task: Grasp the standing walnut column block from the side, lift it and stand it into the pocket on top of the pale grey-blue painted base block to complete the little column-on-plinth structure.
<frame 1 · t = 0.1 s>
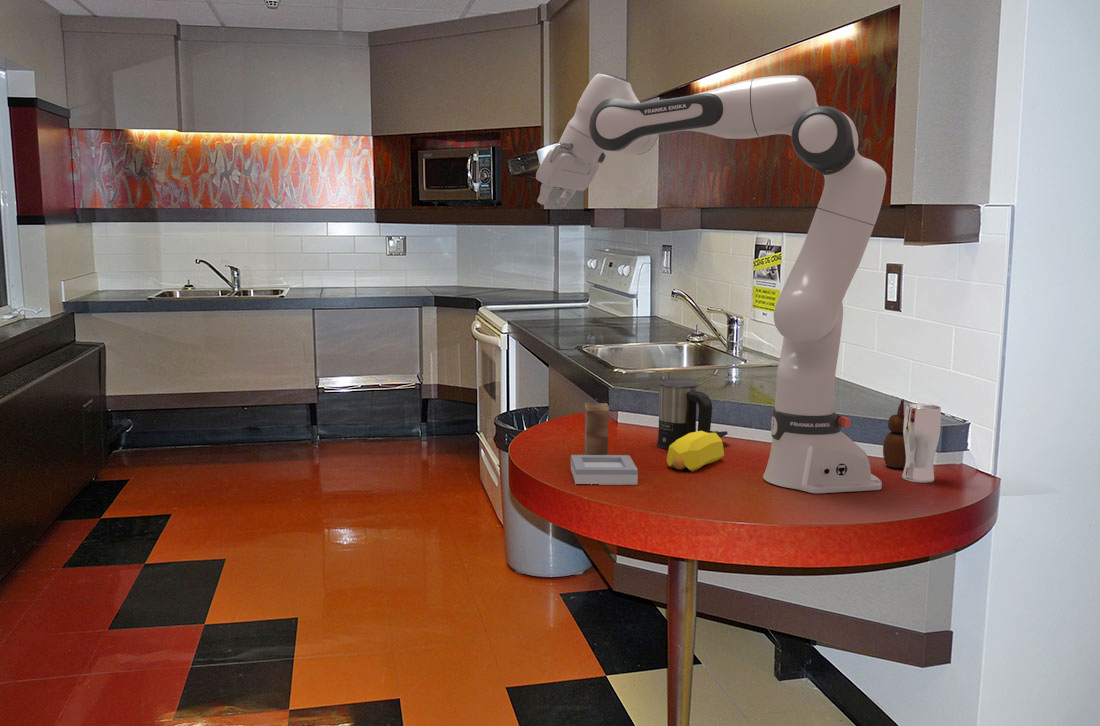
hand: (550, 204, 199), 54 cm above the table, tool tilted 30°, fingers open, 8 cm apart
hot dog: (695, 465, 195), on the table
plinth base: (603, 476, 183), on the table
milk frother: (691, 446, 213), on the table
wooden figurine: (896, 467, 196), on the table
beer glass: (917, 480, 186), on the table
column block: (595, 460, 197), on the table
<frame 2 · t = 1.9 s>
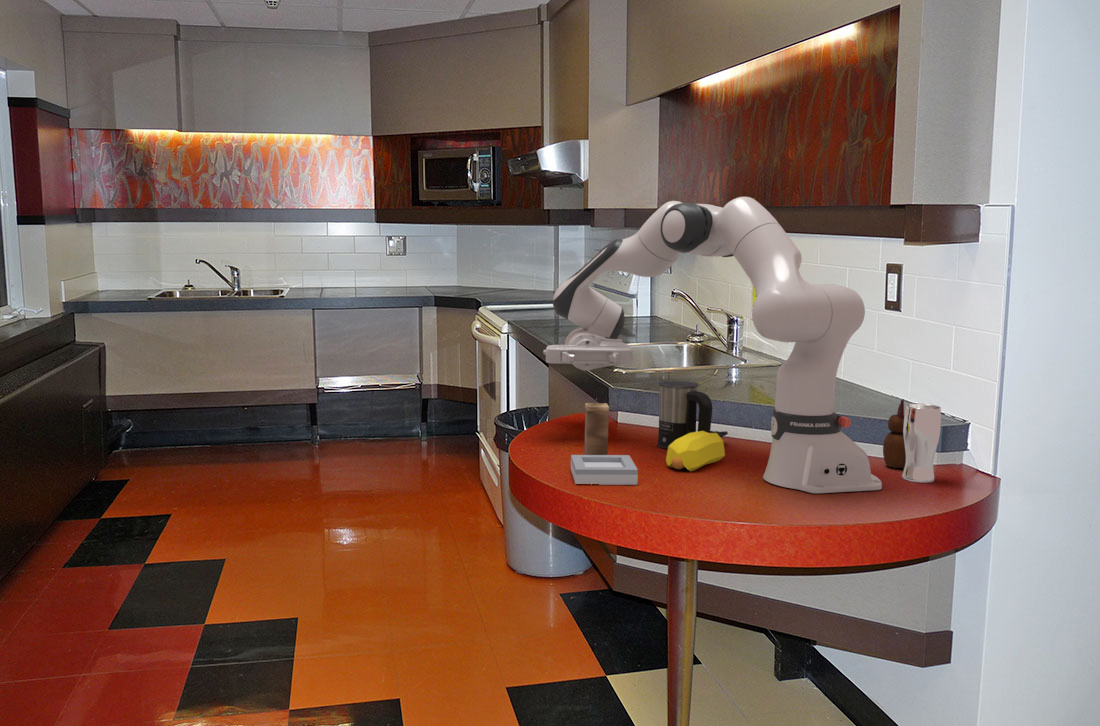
hand: (591, 359, 206), 20 cm above the table, tool horizontal, fingers open, 8 cm apart
nothing on the table moved.
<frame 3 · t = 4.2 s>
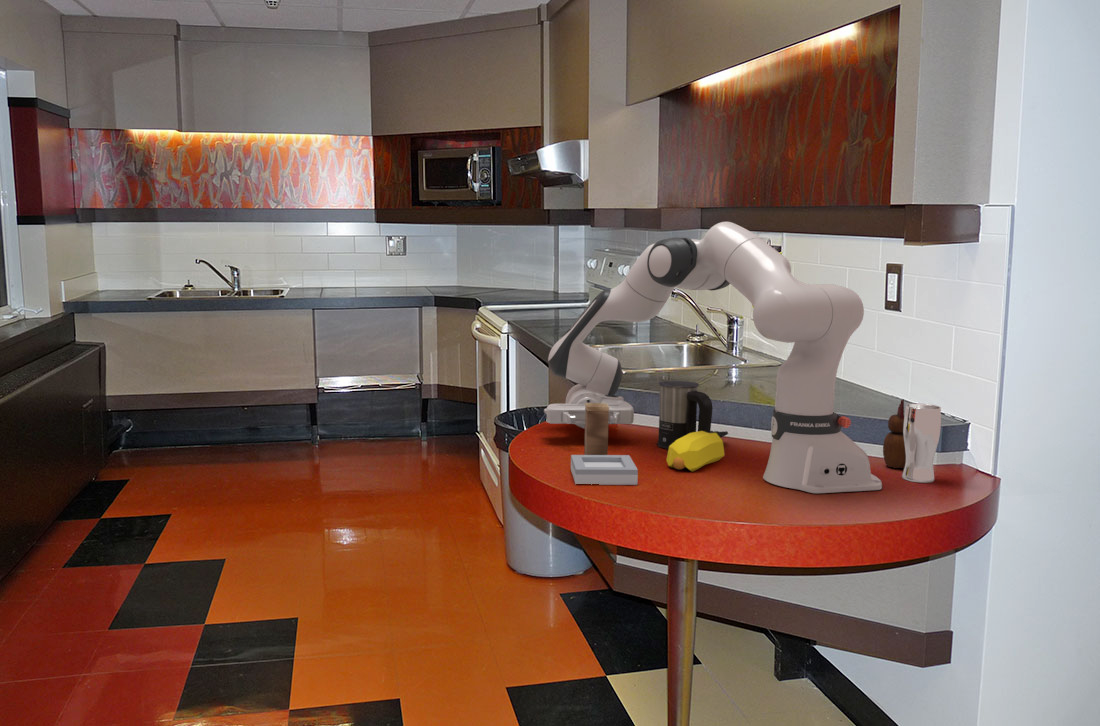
hand: (592, 420, 206), 7 cm above the table, tool horizontal, fingers open, 8 cm apart
nothing on the table moved.
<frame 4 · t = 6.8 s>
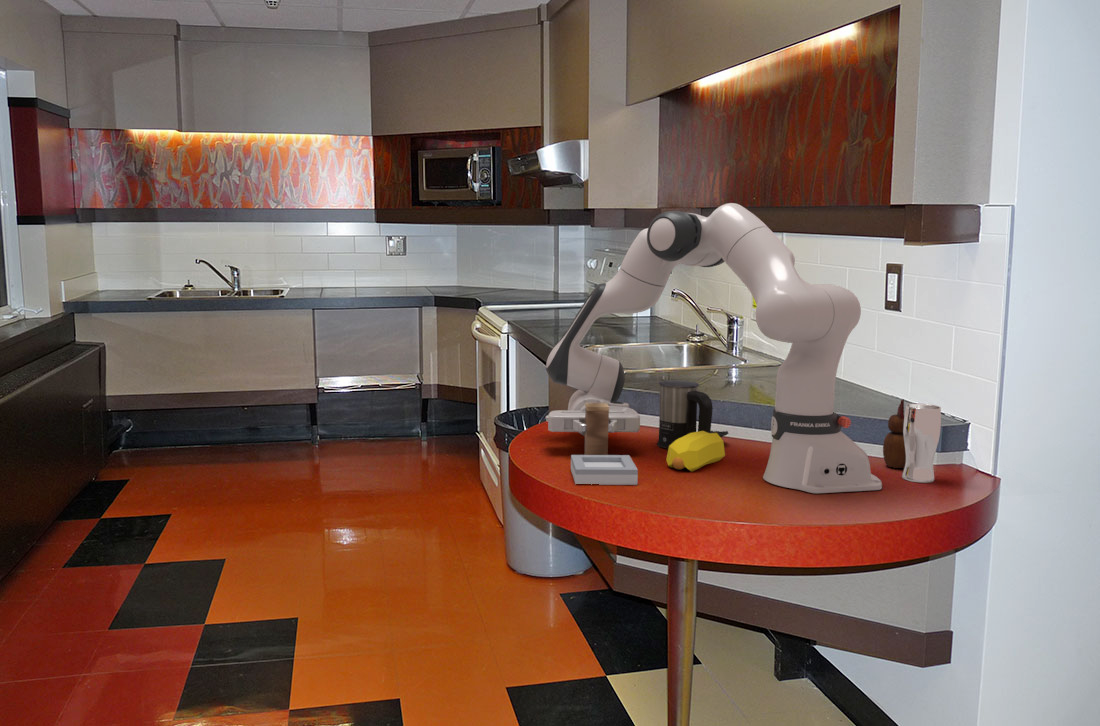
hand: (597, 428, 195), 7 cm above the table, tool horizontal, fingers closed on column block, 4 cm apart
column block: (595, 460, 197), on the table, touching gripper
everything else where it was.
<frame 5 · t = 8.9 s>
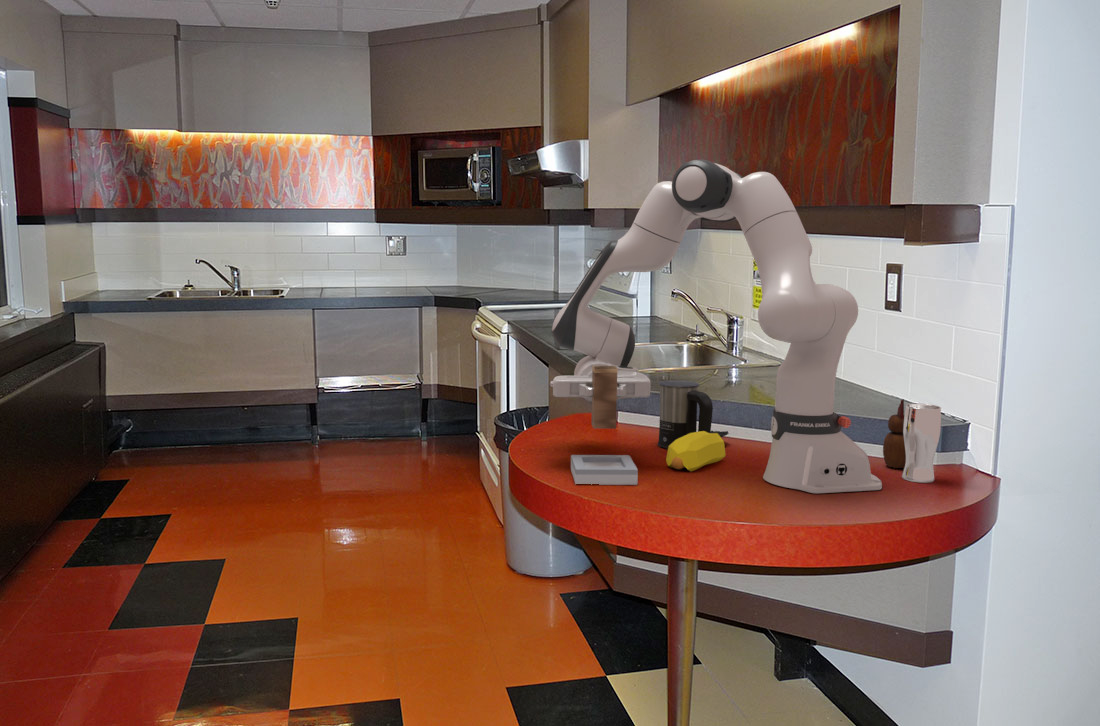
hand: (604, 392, 183), 17 cm above the table, tool horizontal, fingers closed on column block, 4 cm apart
column block: (603, 426, 185), point 10 cm above the table, touching gripper
everything else where it was.
when the fingers open (10 cm above the table, at t = 11.3 s): column block stays where it is, resting on plinth base.
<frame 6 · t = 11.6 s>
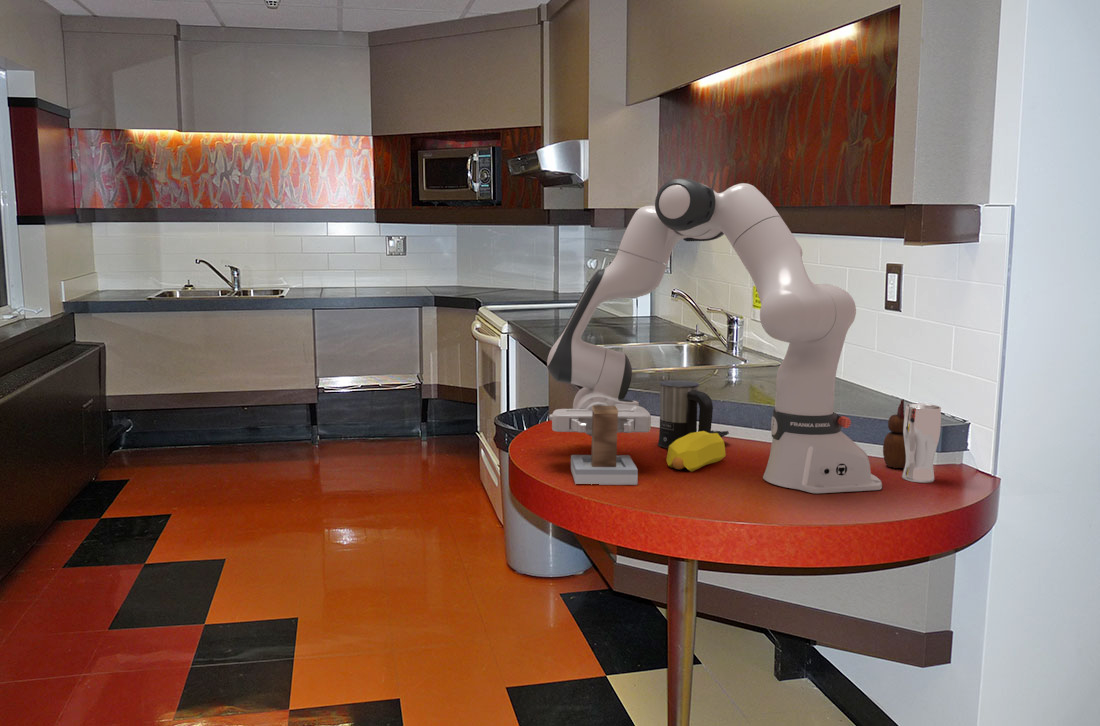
hand: (604, 428, 181), 10 cm above the table, tool horizontal, fingers open, 8 cm apart
column block: (603, 466, 183), point 2 cm above the table, touching plinth base
everything else where it was.
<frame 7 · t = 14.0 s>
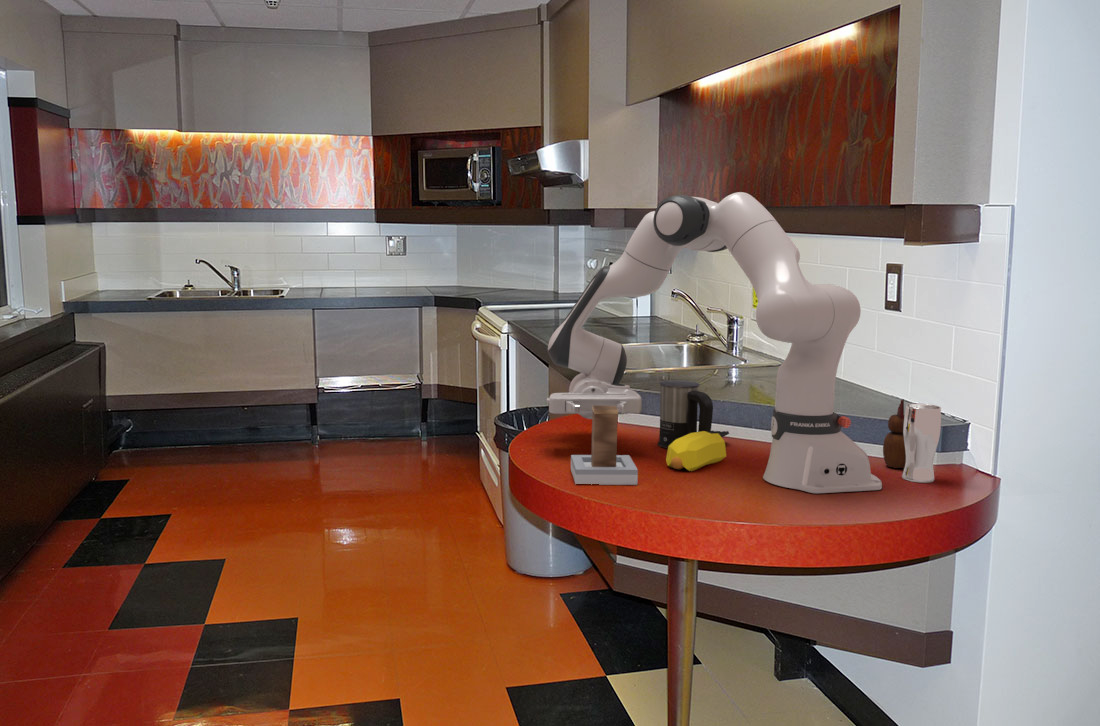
hand: (598, 409, 194), 11 cm above the table, tool horizontal, fingers open, 8 cm apart
nothing on the table moved.
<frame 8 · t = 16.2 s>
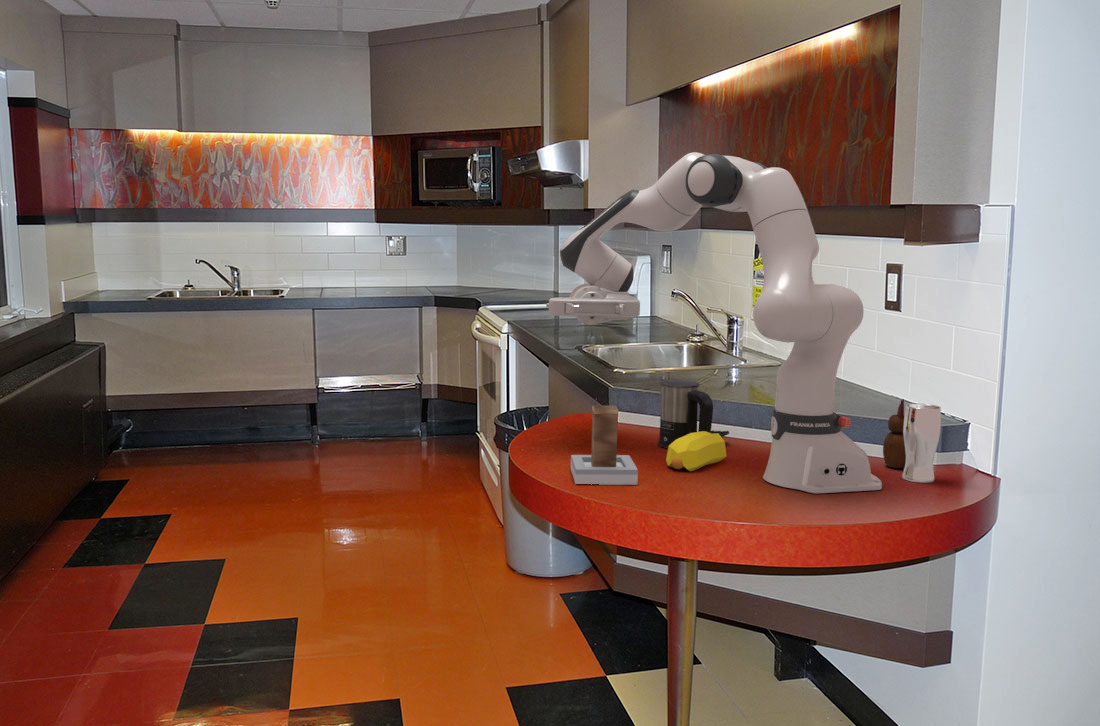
hand: (597, 309, 197), 32 cm above the table, tool horizontal, fingers open, 8 cm apart
nothing on the table moved.
at the end: column block 0.0 cm off-centre on the plinth base, point 2.0 cm above the plinth base's base; column block tilted 0°; the gripper is holding nothing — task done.
